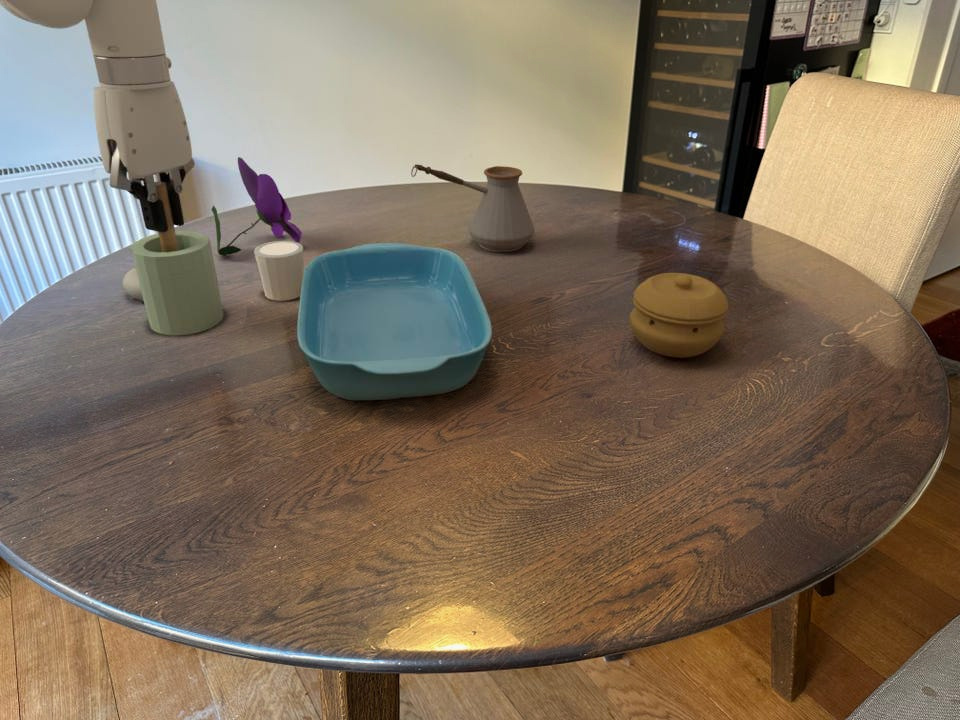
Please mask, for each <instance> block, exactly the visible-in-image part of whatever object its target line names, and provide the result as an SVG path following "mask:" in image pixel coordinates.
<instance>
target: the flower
mask: <svg viewBox="0 0 960 720" xmlns="http://www.w3.org/2000/svg"><path fill="white" fill-rule="evenodd" d="M237 166H238V171H239V175H240V177H241V178H240V179H241V180H242V183H243V185H244V187H245V190H246V192H247V194H248V196H249V197H250V199H251V201H252V202H253V203H254V207H255V208H256V214H257V216H258V219H257V220H256V221H255V222H254V223H253V222H251V226H250V227H248V228H247V229H245V230H243V231H242V232H240V233H238V234H237V235H236V236H235V238H234V239H233V240H231V242H229V244H227V245H226V246H223V247H221V239H222V238H221V237H222V236H221V235H222V233H221V221H220V218H219V216H218V210H217V208H216V206H215V205H213V206H212V207H211V212H212V214H213V216H214V222H215V232H216V234H215V235H216V246H217V254H218V255H219V256H222V257H226V258H228V256H230V255H234V254H237V253H239V252H241V251H242V249H241V248H239V247H238V246H235V245H232V244H233V243H234V242H235V241H236V240H237V239H238V238H239V237H240V236H242V235H244V234H245V235H247V231H250V230H251V229H253V228H254V227H256V225H257V223H259V222H260V221H261V222H263V223H264V224H266V225H268V226H270V230H271V232H272V234H273V236H274V237H278V238H283V236H284V232H285V233H286V234H287V235H289V236H290V237H291V238H292V240H293V241H294V242H297V243H300V242H301V239H302V235H303V232H302V231H301V229H300V228H299V227H298V226H297V225H296V224H295V223H292V222H290V221H291V219H292V213H291V211H290V208H289V206H288V204H287V202H286V200H285V198H284V196H283V195H282V193H280V190H279V187H278V185H277V183H276V182H275V180H274V179H273V177H272V176H270V175H269V174H267V173H259V174H258V173H257V172H256V171H255V170H254V169H253V168H251V167H250V165H248V164H247V162H246V161H245V160H244V159H243V157H239V156H238V157H237ZM300 244H301V243H300Z"/></svg>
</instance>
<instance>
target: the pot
mask: <svg viewBox="0 0 960 720" xmlns="http://www.w3.org/2000/svg"><path fill="white" fill-rule="evenodd" d="M632 303H633V304H634V306H635V307H633V309H632V310H631V312H630V313H629V324H630V327H631V329H632V331H633V333H634V335H635V337H636V339H637V340H638V342H640V344H641V345H642V346H644V347H645V348H646V349H648V350H649V351H651V352H653V353H655V354H658V355H661V356H665V357H669V358H677V359H683V358H684V359H687V358H692V357H697V356H699V355H702V354H704V353H707V352H708V351H709V350H711V349H712V348H713V347H714V346H715V345H716V344H717V343H718V342H719V340H720V339H721V338H722V337H723V335H724V332H725V327H726V326H725V323H724V320H723V319H724V318H725V317H726V316H727V315H728V312H729V302H728V298H727V297H726V295H725V293H724V292H723V290H722V289H721V288H719V286H718V285H716V284H715V283H714V282H712V281H711V280H709V279H707V278H704V277H701V276H698V275H694V274H689V273H684V272H683V273H682V272H665V273H659V274H656V275H652V276H651V277H648V278H646V279H645V280H643V282H641V283H640V284H638V286H637V287H636V288H635V290H634V291H633V296H632Z"/></svg>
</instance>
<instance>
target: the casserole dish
mask: <svg viewBox="0 0 960 720" xmlns="http://www.w3.org/2000/svg"><path fill="white" fill-rule="evenodd" d="M296 324H297V325H296V326H297V327H296V328H297V329H296V334H297V342H298V346H299V348H300V350H301V351H302V353H303V354H304V357H305V359H306V361H307V363H308V365H309V367H310V369H311V370H312V372H313V374H314V376H315V377H316V379H317V381H318V382H319V383H320V385H321V386H322V387H323V388H324V389H325V390H326V391H327V392H329V393H330V394H333V395H334V396H336V397H339V398H341V399H344V400H348V401H360V402H361V401H385V400H386V401H388V400H398V399H401V398H405V399H407V398H418V397H427V396H436V395H442V394H447V393H451V392H453V391H456V390H458V389H461V388H463V387H465V385H467V384H468V383H470V382H471V381H472V380H473V378H474V376H476V374H477V372H478V370H479V368H480V366H481V364H482V361H483V359H484V357H485V354H486V352H487V349H488V347H489V345H490V343H491V340H492V337H493V327H492V322H491V319H490V315H489V313H488V310H487V308H486V306H485V302H484V300H483V299H482V296H481V294H480V292H479V289H478V287H477V285H476V282H475V280H474V278H473V276H472V274H471V272H470V270H469V268H468V266H467V264H466V263H465V261H464V260H463V259H462V258H461V257H460V256H459V255H458V254H456V253H455V252H454V251H451V250H448V249H445V248H441V247H434V246H433V247H431V246H423V245H422V246H421V245H414V244H409V243H400V242H378V243H374V242H373V243H367V244H360V245H356V246H353V247H350V248H346V249H345V248H344V249H340V250H338V249H337V250H333V251H328V252H325V253H322V254H320V255H318V256H316V257H314V258H313V259H311V261H310V262H309V263H307V265H306V267H305V269H304V275H303V280H302V286H301V296H300V297H299V306H298V313H297V323H296Z"/></svg>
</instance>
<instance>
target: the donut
mask: <svg viewBox="0 0 960 720" xmlns="http://www.w3.org/2000/svg"><path fill="white" fill-rule="evenodd" d="M121 283H122V288H123V290H124V292H125V293H126V294H127V296H129V297H131V298H132V299H134V300H137V301H142V302H144V300H143V296H142V292H141V288H140V284H139V280H138V276H137V271H136V267H135V266H134V267H133V268H131V269H130V270H129V271H128V272H126V273H125V275H124V276H123V279H122V281H121Z"/></svg>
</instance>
